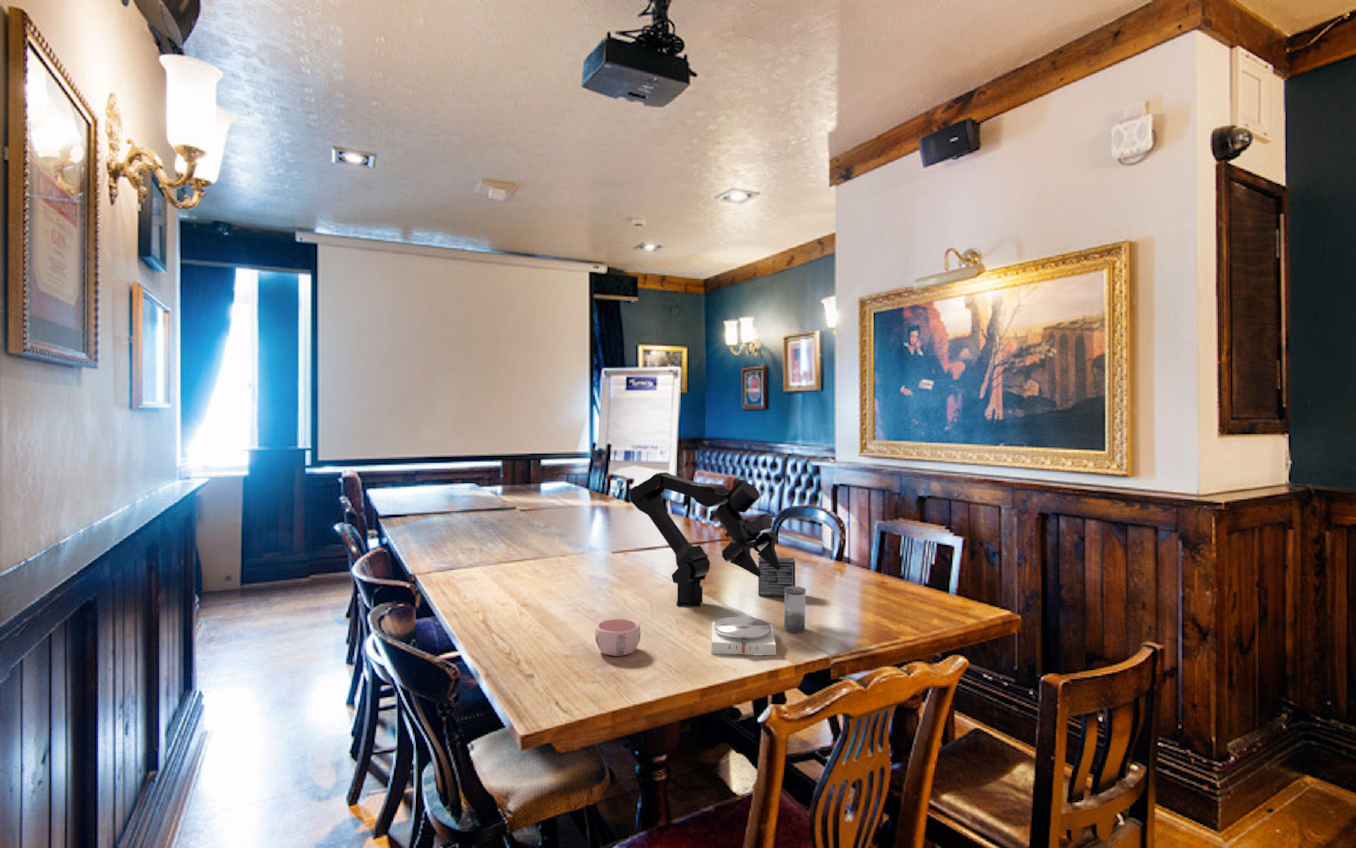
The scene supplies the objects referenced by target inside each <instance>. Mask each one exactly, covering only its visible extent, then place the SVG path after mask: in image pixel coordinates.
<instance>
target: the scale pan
mask: <svg viewBox="0 0 1356 848" xmlns="http://www.w3.org/2000/svg"><path fill="white" fill-rule="evenodd" d="M714 622H715V624H714V629H715V631H716V632H718V633H719V634H721V635H724V636H727V637H732V638H740V639H742V653H745V639H753V638H760V637H764V636H767V635H768V634H770V633H771V626H772V624H771V623H769V622H768V621H766V620H763V619H760V618H756V617H752V616H751V617H750V616H729V617H728V616H727V617H723V618H720V619H717V620H716V621H714ZM770 624H771V625H770Z"/></svg>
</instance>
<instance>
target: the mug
mask: <svg viewBox="0 0 1356 848" xmlns="http://www.w3.org/2000/svg"><path fill="white" fill-rule="evenodd" d="M640 627H641V626H640V624H639V623H638V622H637V621H636V620H632V619H628V618H627V619H626V618H610V619H605V620H603V621H600V622H598V624H597V625H596V627H595V629H594V630H595V632H594V636H595V637H594V638H595V643H596V646H597V647H598V650H599V651H600V652H601V653H602V654H605V655H606V656H607V655H608V656H612V657H613V656H614V657H615V656H618V657H619V656H621V657H622V656H626V655H629V654H632V653H633V652H634V651H636V650H637V647H638V645H639V643H640V640H641V628H640Z"/></svg>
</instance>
